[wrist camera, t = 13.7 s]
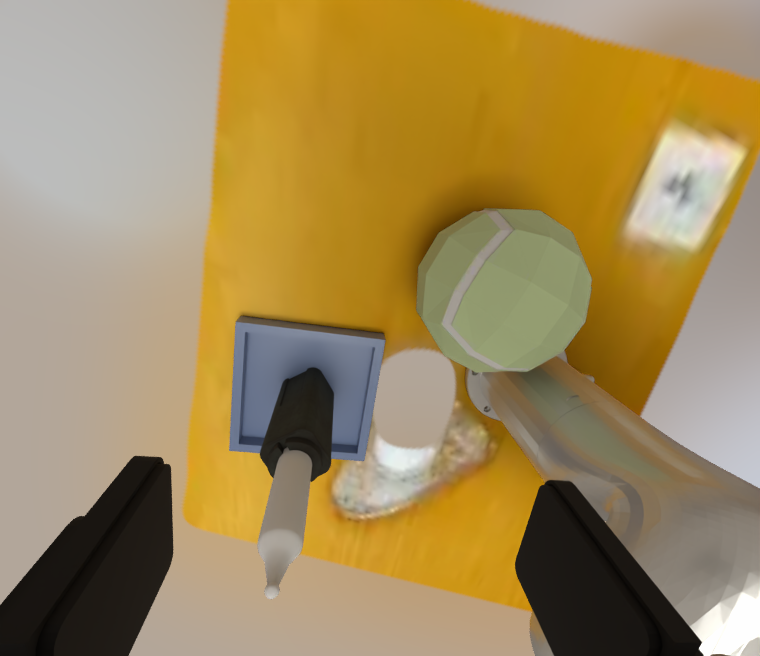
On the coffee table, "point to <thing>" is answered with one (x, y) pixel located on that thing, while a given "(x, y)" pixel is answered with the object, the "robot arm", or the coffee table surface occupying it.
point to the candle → (293, 467)
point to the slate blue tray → (292, 357)
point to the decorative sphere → (503, 290)
